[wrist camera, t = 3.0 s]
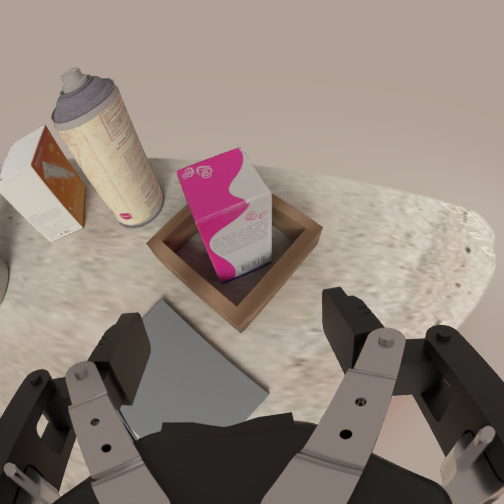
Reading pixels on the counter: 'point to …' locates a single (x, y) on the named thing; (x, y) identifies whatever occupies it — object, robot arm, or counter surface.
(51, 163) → the small box
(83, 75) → the aerosol can
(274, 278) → the tray
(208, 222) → the supplement box
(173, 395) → the slate mat
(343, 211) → the counter surface
